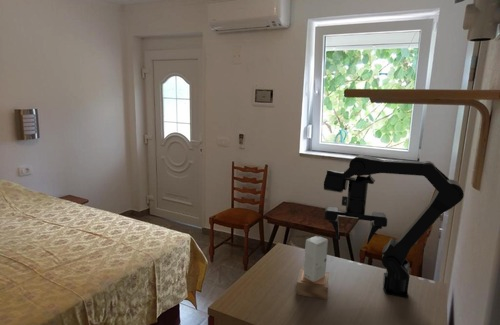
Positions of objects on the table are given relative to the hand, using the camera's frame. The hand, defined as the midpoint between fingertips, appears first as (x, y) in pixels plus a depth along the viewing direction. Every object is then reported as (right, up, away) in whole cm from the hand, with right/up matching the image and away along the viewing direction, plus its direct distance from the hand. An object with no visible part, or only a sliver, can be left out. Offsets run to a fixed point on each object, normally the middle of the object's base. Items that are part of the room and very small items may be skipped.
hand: (352, 241), depth 108 cm
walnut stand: (-14, -14, -5) cm, 20 cm away
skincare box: (-13, -10, -5) cm, 17 cm away
